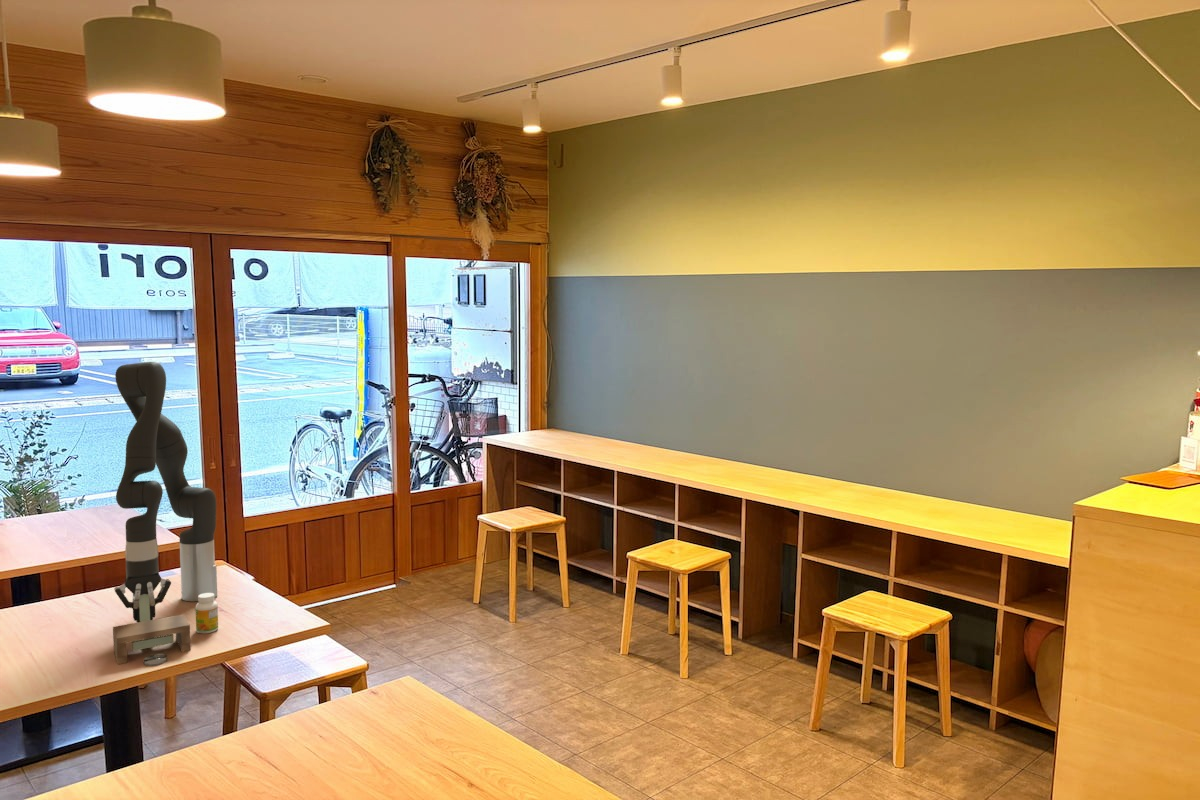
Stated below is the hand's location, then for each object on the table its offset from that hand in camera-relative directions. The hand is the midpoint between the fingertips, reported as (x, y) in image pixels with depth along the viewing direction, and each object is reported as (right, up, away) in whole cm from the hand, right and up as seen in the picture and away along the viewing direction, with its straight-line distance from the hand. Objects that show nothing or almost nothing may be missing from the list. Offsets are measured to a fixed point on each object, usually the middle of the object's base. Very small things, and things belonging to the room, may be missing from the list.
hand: (144, 620), depth 219 cm
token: (+12, -6, -17) cm, 22 cm away
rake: (+4, -4, -6) cm, 8 cm away
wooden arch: (+8, -5, -11) cm, 14 cm away
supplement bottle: (+15, -4, +3) cm, 16 cm away
